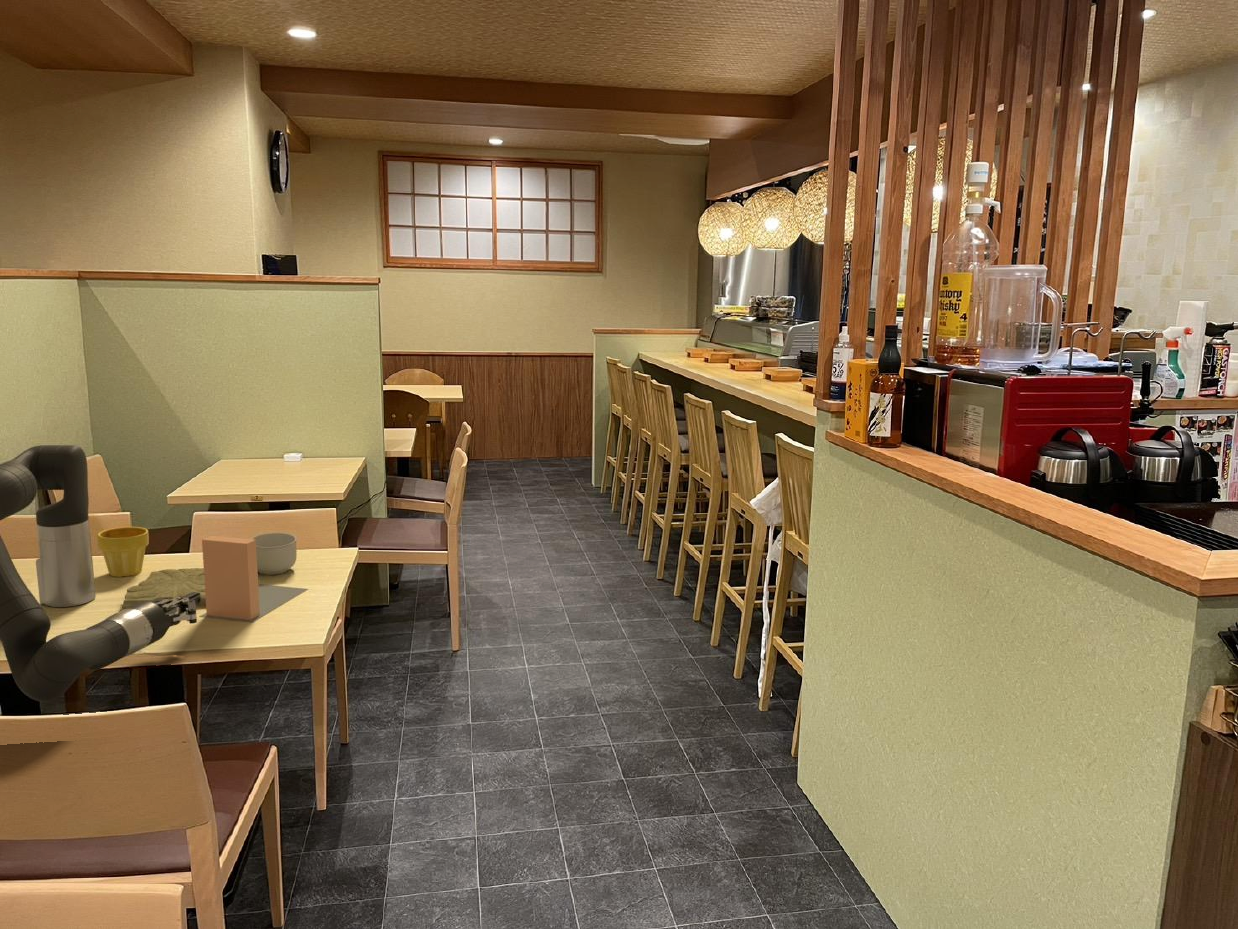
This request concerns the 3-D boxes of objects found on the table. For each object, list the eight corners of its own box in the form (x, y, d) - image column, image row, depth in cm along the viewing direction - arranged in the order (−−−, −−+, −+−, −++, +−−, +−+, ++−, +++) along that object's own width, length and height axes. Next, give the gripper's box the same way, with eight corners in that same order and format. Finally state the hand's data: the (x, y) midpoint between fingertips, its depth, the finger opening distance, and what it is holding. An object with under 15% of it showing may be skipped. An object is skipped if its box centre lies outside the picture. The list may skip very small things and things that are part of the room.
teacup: (304, 564, 216) (303, 533, 215) (287, 579, 206) (286, 545, 204) (248, 562, 217) (246, 531, 215) (227, 577, 206) (225, 543, 204)
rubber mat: (199, 618, 180) (199, 616, 180) (260, 585, 200) (259, 584, 200) (252, 624, 178) (252, 622, 178) (308, 590, 198) (308, 589, 198)
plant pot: (161, 568, 210) (158, 528, 209) (127, 581, 201) (124, 540, 199) (124, 563, 213) (121, 524, 211) (89, 577, 203) (86, 535, 201)
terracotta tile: (206, 615, 181) (201, 539, 178) (216, 610, 184) (211, 535, 181) (251, 620, 179) (246, 543, 176) (260, 614, 182) (256, 539, 179)
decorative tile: (231, 579, 206) (231, 564, 205) (217, 609, 187) (216, 593, 186) (142, 584, 201) (141, 569, 200) (118, 615, 182) (117, 599, 181)
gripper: (99, 646, 155) (167, 612, 172) (166, 654, 153) (229, 619, 169) (96, 605, 154) (165, 575, 170) (163, 613, 151) (227, 581, 168)
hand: (197, 597), depth 170 cm, fingers closed
